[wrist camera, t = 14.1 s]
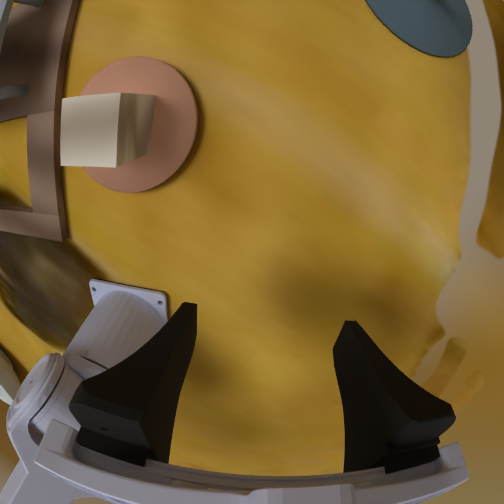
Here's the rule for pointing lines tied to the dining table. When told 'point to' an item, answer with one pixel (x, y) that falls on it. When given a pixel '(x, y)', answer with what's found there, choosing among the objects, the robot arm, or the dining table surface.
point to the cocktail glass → (427, 23)
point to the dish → (163, 127)
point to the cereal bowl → (7, 380)
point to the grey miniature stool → (0, 11)
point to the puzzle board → (38, 109)
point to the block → (105, 129)
